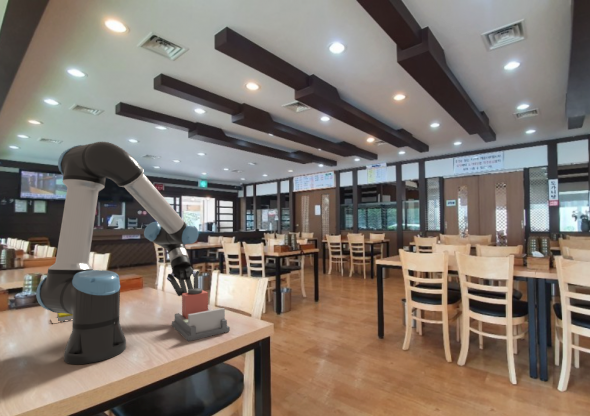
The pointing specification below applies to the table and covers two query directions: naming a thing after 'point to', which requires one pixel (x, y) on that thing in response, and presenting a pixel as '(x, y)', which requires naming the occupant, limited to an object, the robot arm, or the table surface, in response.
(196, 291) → the block
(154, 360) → the table surface
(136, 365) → the table surface
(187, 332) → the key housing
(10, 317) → the table surface
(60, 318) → the emergency button
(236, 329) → the table surface
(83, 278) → the robot arm
